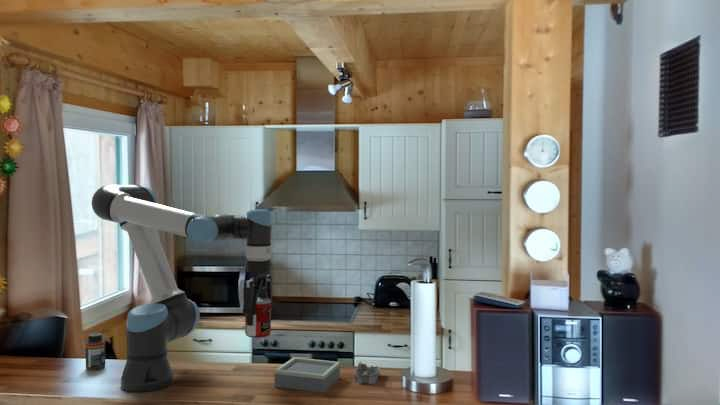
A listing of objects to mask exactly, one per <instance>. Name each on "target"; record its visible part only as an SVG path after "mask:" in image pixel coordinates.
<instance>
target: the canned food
mask: <svg viewBox="0 0 720 405" xmlns="http://www.w3.org/2000/svg"><path fill="white" fill-rule="evenodd" d="M271 306H272V305H271V299H269V298H260V297H259V296H258V299H257V302H256V309H255V315H256V336H247V315H246V314H244V317H245V319H244V324H245V325H244V333H245V336H246V337H248V338H254V339H257V338H258V339H260V338H265V337H269V336H270V335H271V332H272V331H271V329H272V326H271V325H272V308H271Z"/></svg>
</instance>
